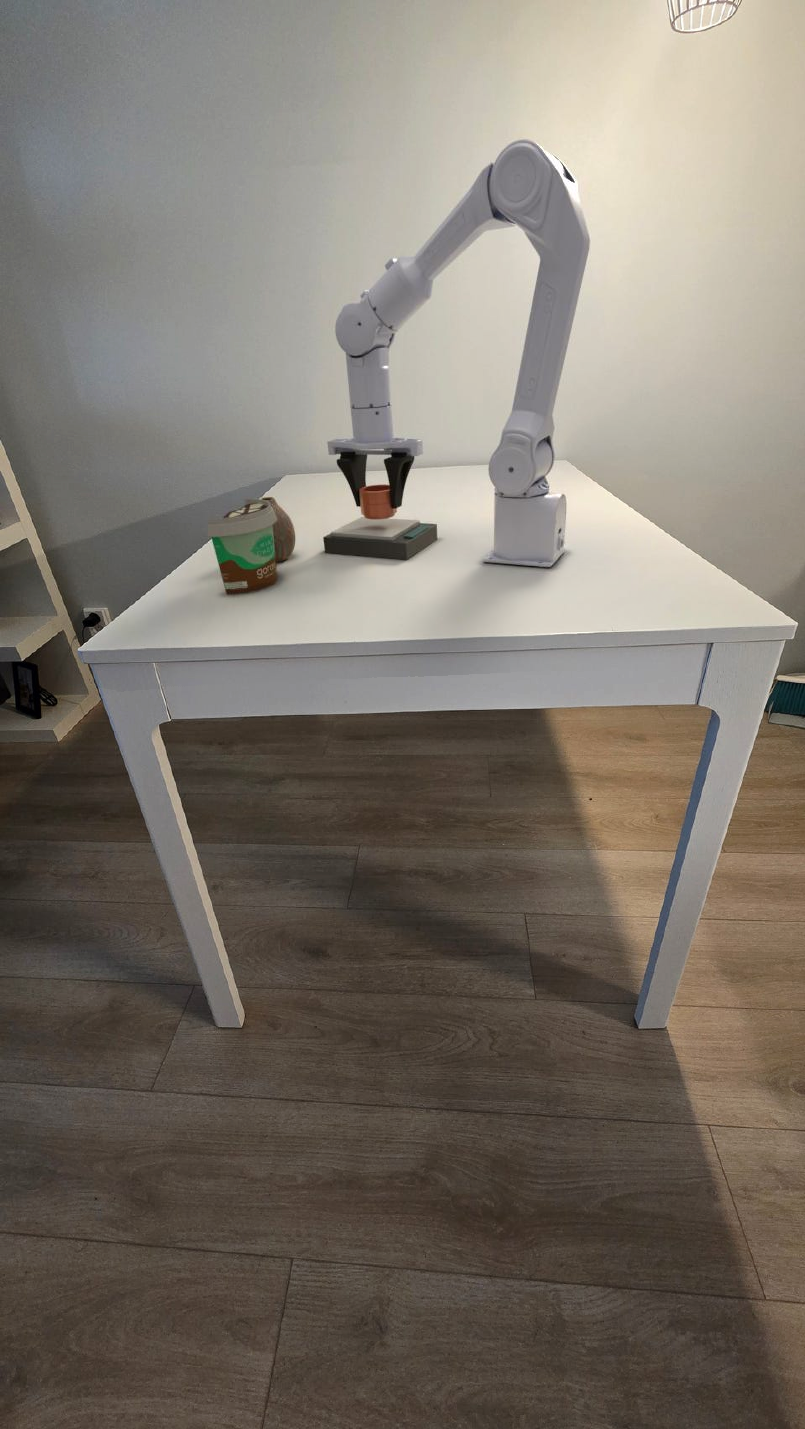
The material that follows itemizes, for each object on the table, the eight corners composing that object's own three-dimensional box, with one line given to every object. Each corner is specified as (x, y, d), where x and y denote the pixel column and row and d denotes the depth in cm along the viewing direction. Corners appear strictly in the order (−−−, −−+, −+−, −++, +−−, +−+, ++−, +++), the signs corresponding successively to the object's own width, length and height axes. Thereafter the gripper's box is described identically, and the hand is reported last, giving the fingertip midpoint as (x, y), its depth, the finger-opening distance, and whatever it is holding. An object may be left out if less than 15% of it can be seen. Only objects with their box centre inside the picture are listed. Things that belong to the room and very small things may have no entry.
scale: (437, 539, 101) (436, 520, 99) (407, 560, 92) (405, 539, 91) (360, 533, 106) (358, 515, 105) (324, 552, 98) (322, 533, 97)
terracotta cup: (403, 512, 98) (402, 485, 96) (386, 521, 94) (384, 493, 92) (372, 510, 100) (370, 483, 98) (355, 519, 96) (352, 491, 94)
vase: (243, 564, 96) (232, 503, 91) (268, 550, 101) (259, 493, 97) (283, 566, 93) (273, 505, 89) (306, 553, 99) (298, 494, 94)
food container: (265, 599, 82) (251, 519, 77) (221, 598, 83) (204, 520, 78) (298, 568, 92) (288, 496, 87) (258, 568, 93) (246, 497, 88)
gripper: (311, 410, 89) (323, 510, 96) (405, 408, 83) (410, 515, 90) (337, 404, 95) (347, 499, 102) (427, 403, 89) (431, 503, 96)
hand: (378, 506), depth 96 cm, fingers closed on terracotta cup, 5 cm apart
